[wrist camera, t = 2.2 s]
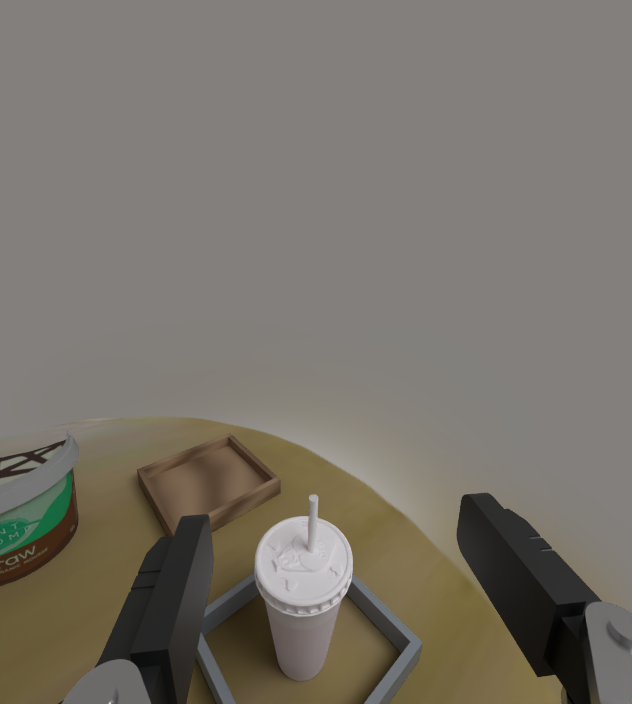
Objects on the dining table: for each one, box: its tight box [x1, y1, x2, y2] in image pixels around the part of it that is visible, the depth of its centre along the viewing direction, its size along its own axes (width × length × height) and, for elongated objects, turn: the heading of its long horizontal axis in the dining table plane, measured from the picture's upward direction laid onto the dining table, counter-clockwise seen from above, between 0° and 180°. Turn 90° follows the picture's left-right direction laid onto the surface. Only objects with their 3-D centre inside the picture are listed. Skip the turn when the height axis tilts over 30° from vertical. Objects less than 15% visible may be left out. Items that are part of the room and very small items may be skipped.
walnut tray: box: [137, 434, 280, 537], centre depth 40 cm, size 12×12×2 cm
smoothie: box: [254, 495, 353, 681], centre depth 22 cm, size 6×6×14 cm
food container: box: [0, 431, 79, 586], centre depth 29 cm, size 12×6×10 cm, turn 135°
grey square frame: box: [196, 573, 423, 704], centre depth 24 cm, size 12×12×2 cm
